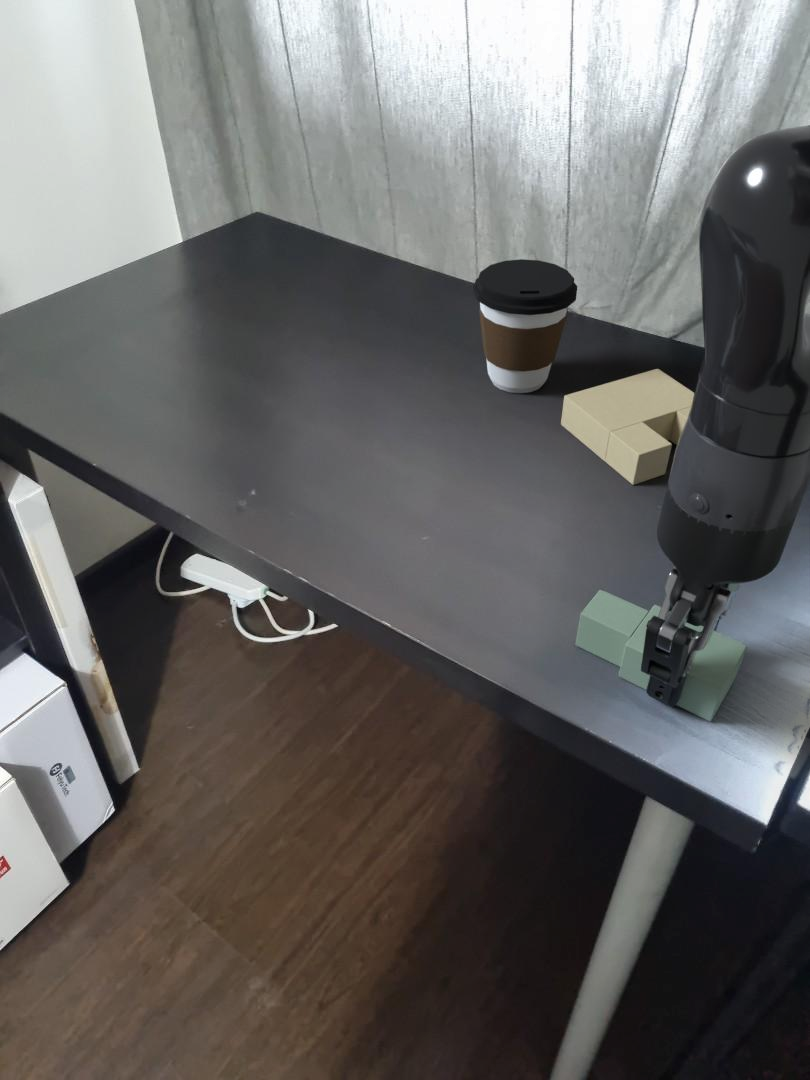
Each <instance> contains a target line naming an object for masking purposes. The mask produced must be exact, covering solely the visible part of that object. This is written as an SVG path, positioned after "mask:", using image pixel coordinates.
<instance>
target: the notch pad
mask: <svg viewBox="0 0 810 1080" xmlns="http://www.w3.org/2000/svg"><path fill="white" fill-rule="evenodd" d="M694 392H695V391H694ZM694 392H693V391H692V390H691V389H689V388H688V387H686V386H684V385H683V384H682V383H680V382H678V381H677V380H675V379H674V378H673V377H672V376H670V375H668V374H667V373H665V372H664V371H662V370H661V369H659V368H655V369H651V370H647V371H645V372H642V373H637V374H634V375H631V376H627V377H624V378H620V379H616V380H612V381H610V382H606V383H603V384H600V385H596V386H593V387H589V388H586V389H582V390H579V391H575V392H572V393H568V394H565V395H564V396H563V404H562V413H561V418H560V419H561V420H560V425H561V426H562V427H563V428H564V429H566V431H568V432H569V433H570V434H571V435H572V436H574V437H575V438H576V439H577V440H578V441H580V442H581V443H582V444H583V445H584V446H586V447H587V448H588V449H589V450H590V451H591V452H593V453H594V454H595V455H596V456H598V457H599V458H600V459H601V460H602V461H604V462H605V463H606V464H608V466H609V467H611V468H612V469H613V470H614V471H615V472H617V473H618V474H619V475H620V476H622V477H623V478H624V479H625V480H626V481H627V482H629V483H630V484H631V485H632V486H634V485H637V484H641V483H643V482H647V481H649V480H652V479H655V478H658V477H660V476H663V475H665V474H666V471H667V468H668V463H669V459H670V454H671V450H672V446H673V444H674V445H676V446H677V444H678V441H679V438H680V435H681V433H682V430H683V428H684V426H685V423H686V421H687V418H688V415H689V412H690V409H691V405H692V401H693V396H694ZM672 443H673V444H672Z"/></svg>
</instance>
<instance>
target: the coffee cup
mask: <svg viewBox="0 0 810 1080" xmlns="http://www.w3.org/2000/svg"><path fill="white" fill-rule="evenodd" d="M472 288H473V289H472V294H473V295H474V297H475V299H476V300H477V302H479V309H478V313H479V321H480V330H481V331H480V332H481V338H482V346H483V347H482V348H483V355H484V357H485V359H486V360H485V361H486V368H487V375H488V377H489V379H490V381H491V382H492V385H493V386H494V387H496V388H497V389H499V390H501V391H504V392H507V393H512V394H528V393H532V392H535V391H537V390H539V389H540V388H541V387H543V385H544V384H545V383H546V382H547V380H548V379H549V378H548V377H549V374H550V371H551V367H552V364H553V362H554V361H555V359H556V356H557V352H558V348H559V346H560V341H561V339H562V334H563V331H564V328H565V325H566V321H567V317H568V312H569V307H570V306H571V305H572V304H574V303H575V302H576V301H577V295H578V285H577V283H575V277H574V276H573V275H572V273H570V272H569V270H568V269H566V268H564V267H562V266H560V265H558V264H556V263H551V262H547V261H544V260H539V259H524V258H523V259H522V258H521V259H509V260H503V261H499V262H496V263H493V264H490V265H488V266H487V267H485V268H484V269H482V270H481V271H480V272H479V274H478V277H476V279H475V281H474V283H473V286H472Z"/></svg>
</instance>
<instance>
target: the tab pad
mask: <svg viewBox="0 0 810 1080" xmlns="http://www.w3.org/2000/svg"><path fill="white" fill-rule="evenodd" d="M661 607H662V606H661V605H657V604H653V606H652V607H651V609H650V610H648V609H645V608H643V607H642V606H639V605H637V604H634V603H632V602H631V601H627V600H625V599H623V598H621V597H618V596H616V595H614V594H612V593H610V592H607V591H605V590H603V589H599V590H598V591H597V592H596V594H595V595H594V596H593V598H592V599H591V600H590V601H589V603H588V604H587V605H586V606H585V608H584V609H583V610H582V611H581V612H580V615H579V622H578V628H577V633H576V638H575V644H574V645H575V647H578V648H581V649H582V650H584V651H586V652H588V653H590V654H592V655H595V656H596V657H598V658H600V659H603V660H605V661H606V662H609V663H611V664H613V665H615V666H616V667H619V671H618V677H619V678H620V679H623V680H624V681H627V682H628V683H631V684H632V685H635V686H637V687H638V688H641V689H643V690H645V691H646V690H647V686H648V682H649V679H650V675H648V674H646V673H644V672H642V671H641V664H642V658H643V650H644V643H645V635H646V629H647V627H646V625H647V623H648V621H649V620H651V618H652V617H653V616H657V617H658V615H659V612H660V610H661ZM685 626H687V627H689V628H691V629H693V630H696V631H699V632H701V631H702V630H703V626H693V625H691V624H689V623H687V622H686V624H685ZM747 649H748V644H745V643H744V642H742V641H739V640H736V639H734V638H732V637H730V636H728V635H725V634H723V633H721V632H718V631H717V630H716V631H713V634H712V636H711V639H710V641H709V643H708V644H707V645H706V646H705V647H704V649H703V650H701V651H697V652H696V655H695V657H694V660H693V662H692V665H691V666H692V669H691V671H690V673H688V674H687V677H686V680H685V683H684V686H683V689H682V693H681V696H680V699H679V700H678V702H677V704H676V705H675V706H678V707H680V708H682V709H683V710H685V711H687V712H689V713H691V714H694V715H695V716H698V717H700V718H702V719H703V720H706V721H708V722H712V721H713V719H714V717H715V715H716V713H717V711H718V710H719V708H720V706H721V704H722V703H723V702H724V699H725V698H726V696H727V694H728V692H729V690H730V689H731V687H732V685H733V683H734V681H735V680H736V678H737V676H738V673H739V670H740V669H741V666H742V664H743V663H742V662H743V660H744V658H745V654H746V652H747Z"/></svg>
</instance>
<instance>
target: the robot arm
mask: <svg viewBox="0 0 810 1080" xmlns="http://www.w3.org/2000/svg"><path fill="white" fill-rule="evenodd" d="M698 254H699V269H700V271H699V272H700V285H701V306H702V307H701V314H702V328H703V343H704V344H703V345H704V346H703V347H704V348H703V349H704V350H703V356H702V360H701V363H700V367H699V372H698V376H697V380H696V384H695V389H694V396H693V401H692V405H691V409H690V412H689V415H688V418H687V421H686V423H685V426H684V428H683V430H682V433H681V435H680V438H679V441H678V444H677V445H676V446H675V447H676V448H675V451H674V455H673V458H672V459H673V460H672V464H671V468H670V472H669V477H668V480H667V485H666V489H665V494H664V497H663V502H662V507H661V510H660V516H659V519H658V523H657V526H656V527H657V528H656V539H657V542H658V545H659V547H660V549H661V551H662V552H663V554H664V555H665V556H666V558H667V559H668V560H669V561H670V562H671V563H672V565H673V567H672V569H671V570H670V573H669V574H668V577H667V580H666V581H665V585H664V587H663V590H664V594H665V596H664V599H663V602H662V603H661V606H660V607H661V610H660V612H659V615H658V617H657V616H653V617H652V618H651V620H649V621H648V623H647V625H646V627H647V629H646V635H645V643H644V650H643V658H642V664H641V671H642V672H644V673H646V674H648V675H650V679H649V682H648V686H647V690H645V692H646V694H647V695H648V696H649V698H652V699H654V700H656V701H658V702H660V703H662V704H664V705H666V706H668V707H670V708H671V707H676V706H677V705H676V704H677V702H678V700H679V699H680V696H681V693H682V689H683V686H684V683H685V680H686V677H687V674H688V673H690V671H691V669H692V666H691V665H692V662H693V660H694V657H695V655H696V652H697V651H701V650H703V649H704V647H705V646H706V645H707V644H708V643H709V641H710V639H711V636H712V634H713V631H716V632H717V628H718V626H719V624H720V621H722V620H723V618H724V617H726V615H727V613H728V611H729V610H728V609H731V607H732V606H733V604H734V602H735V601H736V598H737V597H738V595H739V591H740V588H741V586H742V584H746V583H750V582H754V581H757V580H760V579H763V578H764V577H766V576H767V575H769V574H770V573H771V572H773V571H774V570H775V568H777V566H778V565H779V563H780V561H781V559H782V556H783V553H784V550H785V547H786V545H787V542H788V539H789V537H790V534H791V531H792V529H793V526H794V524H795V521H796V518H797V517H798V513H799V510H800V507H801V504H802V502H803V499H804V496H805V495H806V491H807V490H808V489H807V488H808V486H809V483H810V313H808V312H806V308H807V303H808V300H809V297H810V124H809V125H804V126H803V125H802V126H801V125H800V126H795V127H787V128H782V129H777V130H771V131H767V132H765V133H761V134H759V135H756V136H754V137H751V138H750V139H748V140H746V141H745V142H744V143H742V144H741V145H740V146H738V147H737V148H736V149H734V151H733V152H732V153H731V154H730V155H729V156H728V157H727V159H726V160H725V161H724V163H723V164H722V166H721V167H720V168H719V170H718V172H717V173H716V175H715V176H714V178H713V181H712V182H711V184H710V186H709V189H708V190H707V193H706V196H705V198H704V202H703V204H702V209H701V214H700V217H699V227H698ZM686 622H687V623H689V624H691V625H693V626H703V630H702V631H701V632H699V631H696V630H693V629H691V628H689V627H687V626H685V624H686Z"/></svg>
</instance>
